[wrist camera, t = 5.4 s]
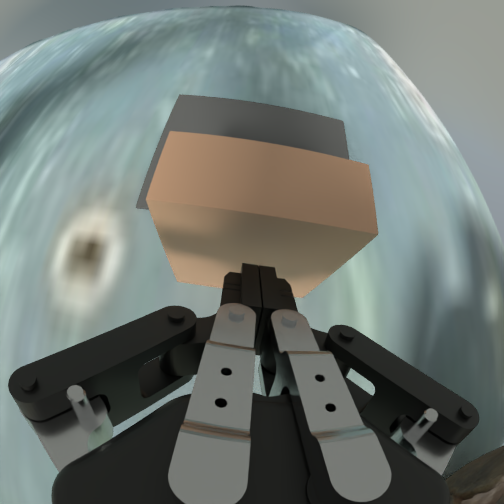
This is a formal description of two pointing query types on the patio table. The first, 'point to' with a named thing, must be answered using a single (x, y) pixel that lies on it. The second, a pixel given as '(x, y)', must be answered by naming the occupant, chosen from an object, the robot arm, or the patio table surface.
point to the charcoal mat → (250, 127)
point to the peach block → (258, 209)
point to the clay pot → (479, 480)
